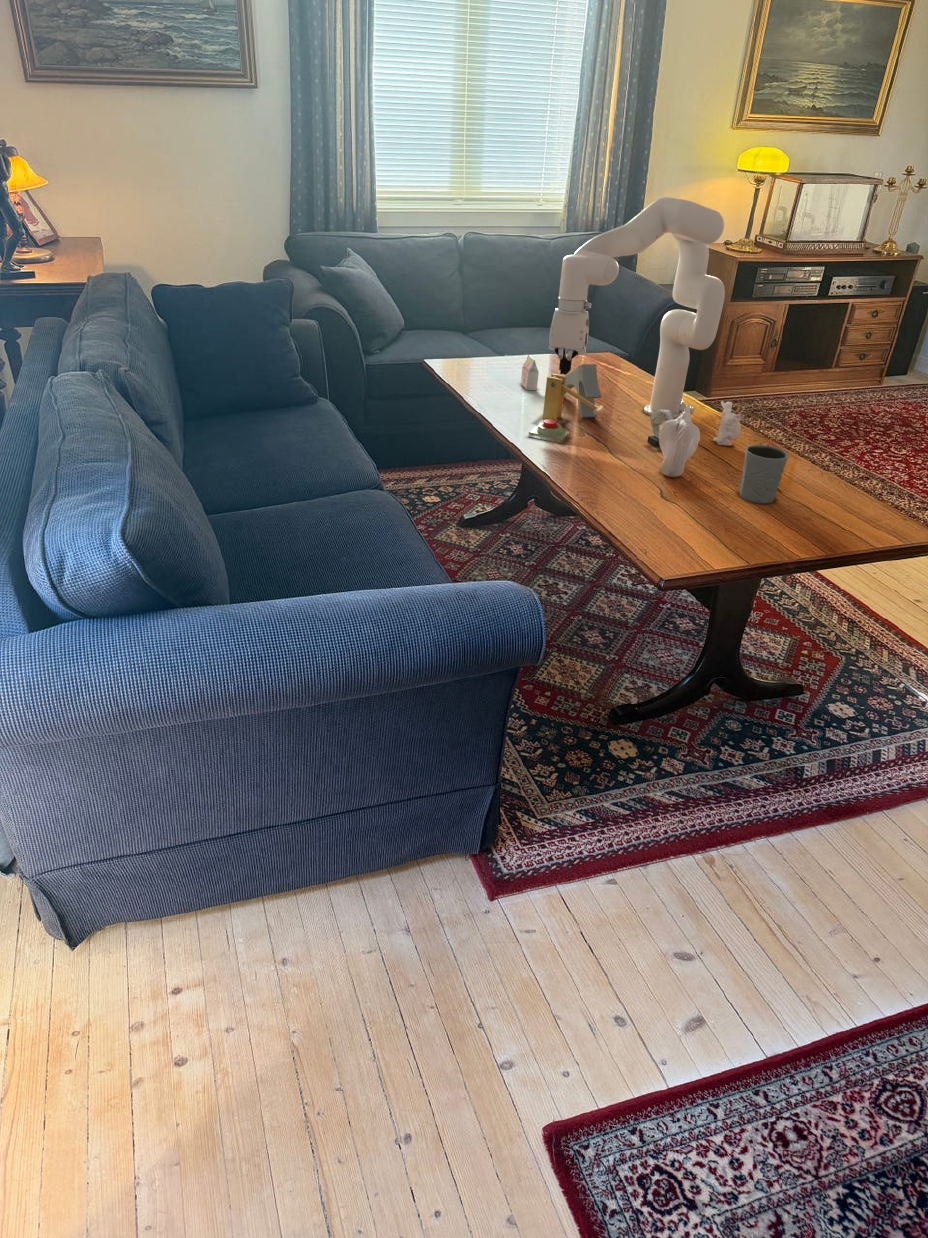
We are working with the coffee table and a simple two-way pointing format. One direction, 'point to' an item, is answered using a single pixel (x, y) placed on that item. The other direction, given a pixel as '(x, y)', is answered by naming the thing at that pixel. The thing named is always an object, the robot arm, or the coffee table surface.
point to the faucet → (584, 387)
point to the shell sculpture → (678, 443)
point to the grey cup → (762, 473)
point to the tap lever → (581, 399)
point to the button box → (549, 433)
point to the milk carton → (529, 374)
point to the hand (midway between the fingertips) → (564, 373)
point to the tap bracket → (554, 397)
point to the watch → (656, 421)
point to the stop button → (550, 424)
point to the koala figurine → (728, 426)
